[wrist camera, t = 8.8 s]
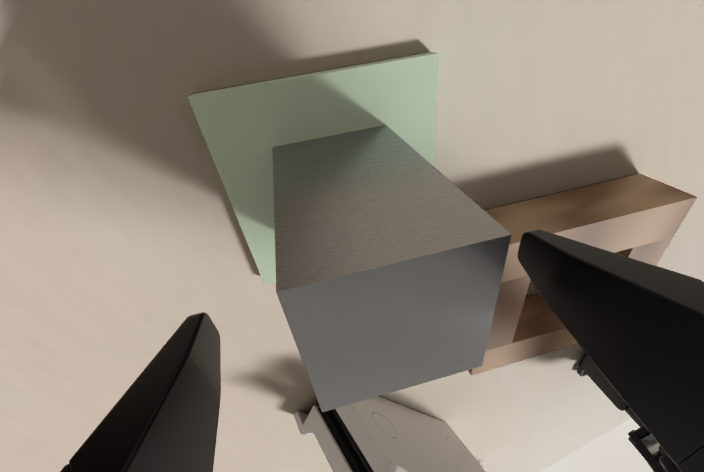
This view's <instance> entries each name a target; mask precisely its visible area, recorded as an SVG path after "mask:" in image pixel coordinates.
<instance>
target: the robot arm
mask: <svg viewBox="0 0 704 472" xmlns="http://www.w3.org/2000/svg"><path fill="white" fill-rule="evenodd" d="M517 257H518V260H519V262H520V264H521V265H522V267H523V269H524V270H525V272H526V273H527V275H528V276H529V278H530V279H531V281H532V282H533V284H534V285H535V287H536V289H537V290H538V292H539V293H540V295H541V296H542V298H543V299H544V301H545V302H546V304H547V305H548V306H549V308H550V309H551V310H552V311H553V313H554V314H555V315H556V316H557V318H558V319H559V320H560V321H561V323H562V324H563V325H564V326H565V328H566V329H567V330H568V331H569V333H570V334H571V335H572V336H573V338H574V339H575V340H576V341H577V343H578V344H579V345H580V346H581V348H582V349H583V350H584V351H585V352H586V356H585V357H584V359H583V361H582V363H581V365H580V366H579V368H578V370H577V373H578V374H579V375H580V376H585V375H588V376H589V377H590V378H591V379H592V380H593V381H594V383H595V384H596V385H597V386H598V387H599V388H600V389H601V390H602V391H603V393H604V394H605V395H606V396H607V397H608V398H609V399H610V400H611V401H612V402H613V404H614V405H615V406H616V407H617V408H618V409H620V410H622V411H623V410H625V411H626V412H627V413H628V414H629V415H630V417H631V418H632V419H633V420H634V421H635V422H636V423H637V424H638V425H639V426H640V427H641V428H639V429H637V430H632V431H631V432H629V433H628V434H629V436H630V437H629V441H630V442H631V443H632V444H633V445H634V446H635V447H636V449H637V450H638V451H639V452H640V453H641V454H642V456H643V457H644V458H645V460H646V461H647V462H648V464H649V465H650V467H651V468H652V469H653V471H654V472H704V282H702V281H701V280H699V279H696V278H693V277H689V276H686V275H683V274H680V273H677V272H674V271H670V270H667V269H664V268H661V267H658V266H654V265H651V264H648V263H645V262H642V261H639V260H635V259H632V258H629V257H626V256H623V255H620V254H616V253H613V252H610V251H607V250H604V249H601V248H597V247H594V246H591V245H588V244H585V243H581V242H578V241H575V240H572V239H569V238H566V237H562V236H559V235H556V234H553V233H550V232H547V231H543V230H540V229H535V230H531V231H527V232H524V233H523V235H522V237H521V241H520V245H519V249H518V253H517ZM220 394H221V374H220V335H219V332H218V330H217V328H216V327H215V325H214V324H213V322H212V320H211V319H210V317H209V315H208V314H207V313H198V314H194V315H191V316H189V317H187V318H186V320H185V321H184V322H183V323H182V324H181V326H180V327H179V328H178V329H177V331H176V332H175V333H174V334H173V335H172V337H171V338H170V339H169V340H168V341H167V343H166V344H165V345H164V346H163V348H162V349H161V350H160V351H159V352H158V354H157V355H156V356H155V357H154V359H153V360H152V361H151V362H150V363H149V365H148V366H147V367H146V368H145V369H144V371H143V372H142V373H141V374H140V376H139V377H138V378H137V379H136V380H135V382H134V383H133V384H132V385H131V386H130V388H129V389H128V390H127V391H126V393H125V394H124V395H123V396H122V397H121V399H120V400H119V401H118V402H117V403H116V405H115V406H114V407H113V408H112V410H111V411H110V412H109V413H108V414H107V416H106V417H105V418H104V419H103V420H102V422H101V423H100V424H99V425H98V427H97V428H96V429H95V430H94V431H93V433H92V434H91V435H90V436H89V437H88V439H87V440H86V441H85V442H84V444H83V445H82V446H81V447H80V448H79V450H78V451H77V452H76V453H75V454H74V456H73V457H72V458H71V459H70V461H69V464H67V465H65V466H64V468H63V469H62V470H61V471H60V472H213V464H214V454H215V445H216V435H217V426H218V417H219V407H220Z"/></svg>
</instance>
